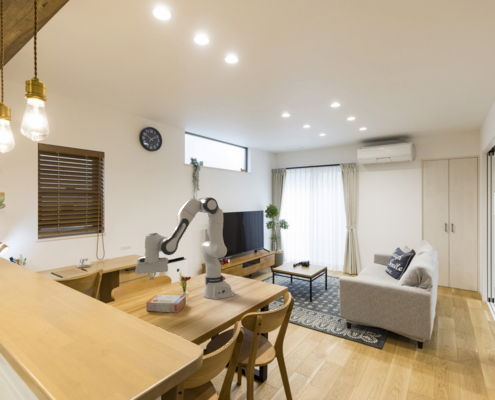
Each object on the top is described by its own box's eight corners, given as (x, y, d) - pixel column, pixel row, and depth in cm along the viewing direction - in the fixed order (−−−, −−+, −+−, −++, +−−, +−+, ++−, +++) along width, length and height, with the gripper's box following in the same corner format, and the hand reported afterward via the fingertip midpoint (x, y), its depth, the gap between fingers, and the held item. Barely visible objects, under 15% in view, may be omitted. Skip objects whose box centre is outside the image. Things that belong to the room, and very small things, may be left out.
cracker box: (146, 311, 174) (178, 313, 171) (145, 302, 174) (178, 303, 171) (156, 303, 188) (186, 304, 185) (156, 294, 188) (186, 295, 185)
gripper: (168, 256, 189) (168, 276, 189) (135, 258, 182) (135, 279, 182) (168, 258, 183) (168, 279, 183) (135, 260, 176) (135, 282, 176)
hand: (151, 279), depth 182 cm, fingers closed
